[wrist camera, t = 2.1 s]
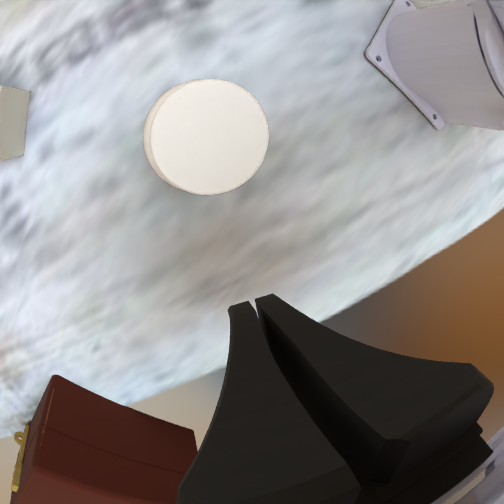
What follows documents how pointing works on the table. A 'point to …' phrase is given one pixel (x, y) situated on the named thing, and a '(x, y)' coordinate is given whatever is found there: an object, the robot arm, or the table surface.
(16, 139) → the cream ceramic block
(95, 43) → the table surface
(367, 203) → the table surface
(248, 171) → the supplement bottle
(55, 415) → the box
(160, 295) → the table surface
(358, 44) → the table surface
